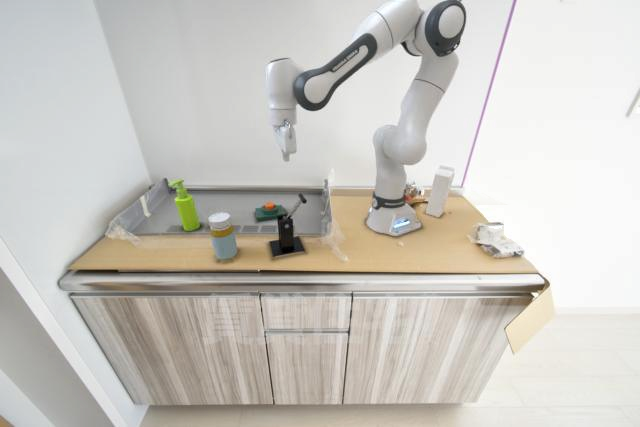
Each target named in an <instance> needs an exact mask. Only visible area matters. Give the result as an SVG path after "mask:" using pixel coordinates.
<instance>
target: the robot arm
mask: <svg viewBox="0 0 640 427" xmlns="http://www.w3.org/2000/svg"><path fill="white" fill-rule="evenodd" d="M466 25H467V11H466V7H465V5H464V4H463V3H462V2H461V1H459V0H443V1H441V2H438V3H437V4H436V5H433V6H431V7H429V8H427V9H426V10H423V9H422V8H421V7H420V4H419V2H418V0H387V1H386V2H384V3H383V4H381V5H380V6H379V7H378V8H376V9H375V10H373V11H372V12H371V13H370V14H369V15H368V16H366V17H365V19H363V20H362V21H361V23H360V24H359V25H358V26H357V27H356V29H355V30H354V31H353V33H352V38H351V41H350V42H349V44H348V45H347V46H346V47H345V48H344V49H343V50H341V51H340V52H339V53H338V54H337V55H336V56H334V57H333V58H332V59H331V60H329V61H328V62H327V63H326V64H324V65H323V66H320V67H318V68H313V69H307V68H305V67H303V66H301V65H300V64H298V63H297V62H295V61H293V60H292V58H290V57H281V58H277V59H273V60H271V61H269V62H268V63H267V65H266V67H265V88H266V89H265V90H266V95H267V98H268V105H267V109H268V110H267V112H268V119H269V125H270V126H272V130H273V136H274V140H275V143H277V145H278V146H279V147H280V150H281V155H282V160H283V161H284V162H286V163H287V162H290V155H292V154H293V155H294V154H296V153H297V151H298V150H297V136H296V130H295V127H294V126H295V125H298V114H297V113H298V112H297V105H299V106H300V107H301V108H302V109H304V110H306V111H309V112H318V111H320V110H322V109H324V108H325V107H326V106H327V105H328V104H329V103H330V101H331V99H332V97H333V95H334V93H335V92H336V90H337V89H338V88H339V87H340V86H341V85H342V84H344V83H345V82H346V81H347V80H349V79H350V78H351V77H352V76H353V75H355V74H356V72H358V71H359V70H361V69H362V68H364V67H366V66H367V65H370V64H372V63H374V62H376V61H378V60H380V59H381V58H382V57H384V56H386V55H387V54H389V53H390V52H391V51H393V50H394V49H395V48H396V47H397V46H399V45H401V46H402V48H403V50H404V51H405V52H406V53H407V54H408V55H409V56H412V57H421V61H420V64H419V68H418V71H417V72H416V75H415V76H414V78H413V80H412V81H411V83H410V85H409V87H408V89H407V91H406V93H405V94H404V96H403V98H402V100H401V102H400V116H399V120H398V122H397V124H383V125H380V126H379V127H377V128H376V129H375V131H374V132H373V135H372V145H373V147H374V154H375V156H374V157H375V167H376V168H375V170H376V175H375V184H374V190H373V192H372V197H371V207H370V209H369V214H368V217H367V219H366V221H365V223H366V226H367V227H368V228H369V229H371V230H372V231H374V232H376V233H381V234H386V235H389V236H391V237H399V236H402V235H404V234H407V233H410V232H413V231H415V230H416V231H417V230H418V229H421V227H422V224H421V222H420V221H419V219H417V212H416V210H415V209H414V207H413V206H414V204H412V203H411V205H409V203H410V202H411V201H412V200H413V198H412V197H411V196H410V195H406V194H405V189H406V184H407V179H408V178H407V172H406V169H405V166H414V165H417V164H419V163H420V162H421V161H422V160H423V159H424V158H425V156H426V153H427V150H428V144H427V134H428V129H429V125H430V122H431V120H432V118H433V115H434V113H435V112H436V110H437V108H438V106H439V105H440V103H441V101H442V100H443V97H444V96H445V94H446V93H447V91H448V89H449V87H450V86H451V83H452V82H453V79H454V77H455V76H456V75H455V74H456V72H457V69H458V67H459V62H460V59H459V56H458V54H457V53H456V52H455V51H456V50H457V49H458V47H459V46H460V44H461V39H462V36H463V34H464V31H465V29H466ZM422 201H423V202H422V204H428V201H429V200H428V201H427V200H422ZM407 202H409V203H407Z"/></svg>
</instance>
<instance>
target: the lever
mask: <svg viewBox="0 0 640 427" xmlns="http://www.w3.org/2000/svg"><path fill="white" fill-rule="evenodd" d="M298 198H299V199H298V200H297V202H296V203H295V204H294V206H293V207H292V209H291V210H290V211H289V212H288V213H289V214H288V215H287V217H286V216H283V218H282V219H281V220H285V219H290V218H291V219H292V218H293V216H294V214H295V213H296V212H297V210H298V209H299V207H300V206H301V205H302V204H304V205H306V204H307V202H308V200H307V198H306V197H305V195H304V193H301V192H299V194H298Z"/></svg>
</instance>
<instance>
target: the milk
mask: <svg viewBox="0 0 640 427" xmlns="http://www.w3.org/2000/svg"><path fill="white" fill-rule="evenodd" d="M454 177H455V167H450V166H446V165H438V169H437V170H436V172H435V174H434V177H433V182H432V186H431V190H430V194H429V198H428V203H427V205H426V209H425V214H426V215H429V216H432V217H436V218H440V217H441V216H442V215H443V214H444V210H445V207H446V204H447V201H448V198H449V194H450V190H451V188H452V184H453V181H454Z"/></svg>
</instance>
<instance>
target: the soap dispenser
mask: <svg viewBox="0 0 640 427" xmlns="http://www.w3.org/2000/svg"><path fill="white" fill-rule="evenodd" d="M183 183H185V179H176V180H173V181H171V182H170V183H168V184H167V186H169V187H175V186H176V185H177V186H176V187H177V188H176V189H175V191H176V195H177V196H176V197H175V198H174V202H175V205H176V208H177V211H178V214H179V217H180V221H181V224H182V227H183V230H184V231H186V232H191V231H196V230H198V229H199V228H201V227H200V226H201V225H200V221H199V216H198V213H197V209H196V206H195V202H194V197H193V195H191V194H189V193H188V190H187V187H185V186H184V185H183Z"/></svg>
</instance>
